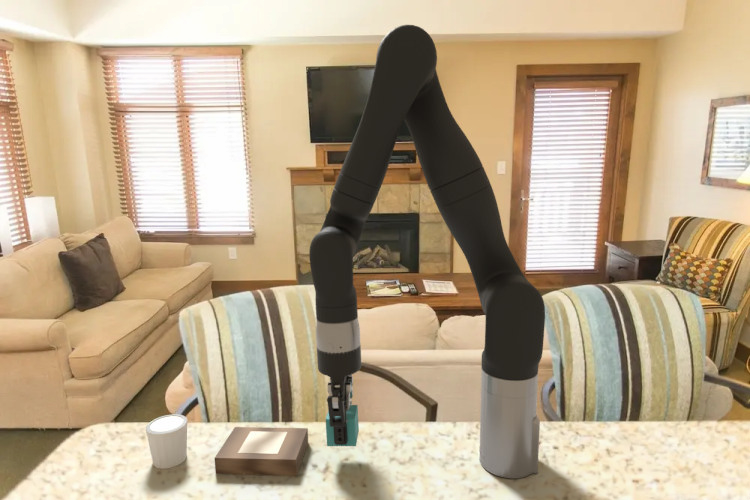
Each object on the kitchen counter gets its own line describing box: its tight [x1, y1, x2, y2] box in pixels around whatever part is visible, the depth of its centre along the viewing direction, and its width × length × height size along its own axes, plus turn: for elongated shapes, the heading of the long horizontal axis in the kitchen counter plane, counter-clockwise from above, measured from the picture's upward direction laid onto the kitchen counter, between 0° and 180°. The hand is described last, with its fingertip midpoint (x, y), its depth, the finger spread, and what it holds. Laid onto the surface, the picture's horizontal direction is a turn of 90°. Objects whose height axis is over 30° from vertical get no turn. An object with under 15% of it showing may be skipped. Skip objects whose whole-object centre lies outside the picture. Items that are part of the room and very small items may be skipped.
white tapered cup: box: [145, 413, 188, 469], centre depth 86 cm, size 7×7×7 cm
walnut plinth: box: [214, 426, 309, 477], centre depth 86 cm, size 14×10×3 cm
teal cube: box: [325, 404, 360, 447], centre depth 85 cm, size 5×5×5 cm
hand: (343, 434), depth 85 cm, fingers closed on teal cube, 5 cm apart
